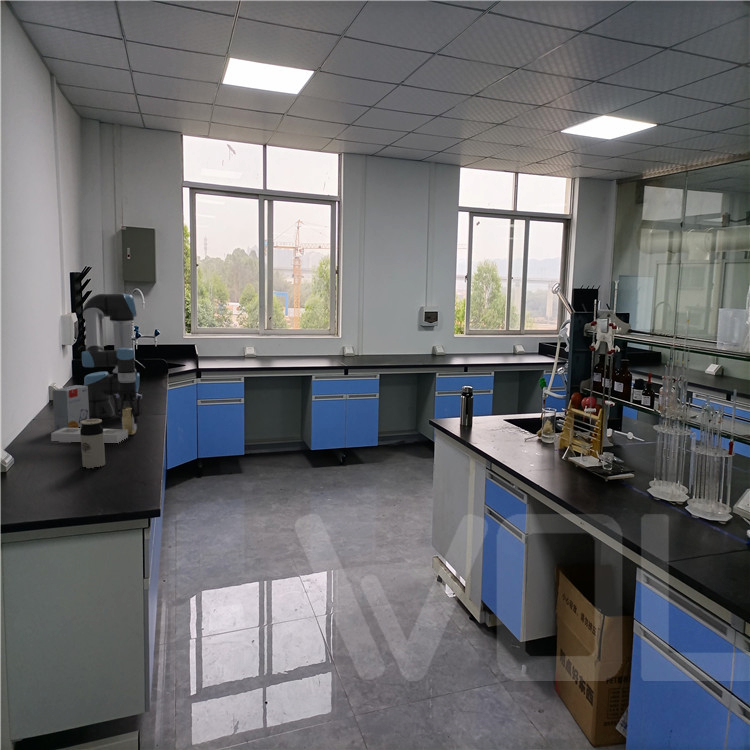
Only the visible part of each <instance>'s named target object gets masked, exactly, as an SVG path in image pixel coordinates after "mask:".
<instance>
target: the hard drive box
mask: <svg viewBox="0 0 750 750" xmlns="http://www.w3.org/2000/svg"><path fill="white" fill-rule="evenodd" d="M52 402H53V403H52V404H53V420H54V421H53V422H54V432H55V431H57V430H60V429H62V428H79V427H80V428H82V425H81V423H80V422H81V421H83V420H87V419H89V402H88V386H85V385H80V384H79V385H77V384H75V385H71V386H70V385H69V386H66V387H62V388H61V387H60V388H57V389H53V390H52Z"/></svg>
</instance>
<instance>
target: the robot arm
mask: <svg viewBox="0 0 750 750" xmlns="http://www.w3.org/2000/svg"><path fill="white" fill-rule="evenodd" d="M137 316H138V315H137V310H136V304H135V300H134V296H133V295H132V294H130V293H129V294H128V293H100V294H98V293H97V294H95V295H94V296H92V297H90V298H89V299H88V300H87V301H86V303H85V304H84V305H83V309H82V317H83V319H84V320H85V323H84V324H85V325H84V327H85V347H86V348H85V350H86V351H85V350H84V351H82V352H81V363H82V366H83V367H84V368H101V367H115V368H113V370H112V374H110V373H109V372H108V371H97V372H92V373H89V374H87V375H85V376H84V378H83V379H84V380H83V381H84V383H83V386H88V402H89V419H100V418H104V419H108V417H109V418H112V417H115V415H116V416H119V418H120V419H119V420H120V421H119V422H120V424H121V425H122V427H121V429H123V413H122V409H124V408H127V402H128V403H129V406H130V408H131V409H132V413H133V417H132V430H133V431H135V430H136V431H137V429H138V427H137V424H138V423H139V417H140V416H142V415H143V414H142V413H143V412H142V411H143V406H142V405H143V402H142V401H143V397H144V395H143V394H139V393H138V392H139V389H140V372H137V369H136V364H135V363H136V362H135V361H136V360H135V357H136V354H135V349H134V348H133V341H132V340H133V339H132V323H133V322H134V320H135V317H137ZM105 317H108V318H109V321H110V322H111V323H112V326H113V327H112V328H113V345H114V346H113V347H114V349H113V350H110V349H109V350H105V348H104V347H105V346H104V332H103V330H104V329H103V319H104V318H105ZM110 397H112V398H113V400H114V406H113V405H112V403H111V398H110ZM120 399H121V400H120ZM120 402H121V403H120ZM113 407H114V408H113ZM114 409H115V410H114Z"/></svg>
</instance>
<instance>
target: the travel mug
mask: <svg viewBox="0 0 750 750" xmlns="http://www.w3.org/2000/svg"><path fill="white" fill-rule="evenodd" d="M102 422H103V420H102V419H87V420H83V421H81V422H80V423H81V425H82V427H80V428H81V430H80V435H81V443H80V444H81V445H80V446H81V447H80V449H81V460H82V461H81V462H82V464H81V465H82V467H83V468H84V467H86V469H90V468H92V469H95V468H94V467H99V468H101V467H103V466H105V465H106V457H105V456H106V454H105V453H106V452H105V444H104V435H103V429H104V428H103V426H102ZM100 466H101V467H100Z"/></svg>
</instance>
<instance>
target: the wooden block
mask: <svg viewBox="0 0 750 750" xmlns="http://www.w3.org/2000/svg"><path fill="white" fill-rule="evenodd" d="M122 413H123V428H122V429H128V436H129V435H131V436H132V435H134V434H136V433H137V430H135V431H133V430H132V417H133V413H132V409H131V407H126V408H124V409H122Z"/></svg>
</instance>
